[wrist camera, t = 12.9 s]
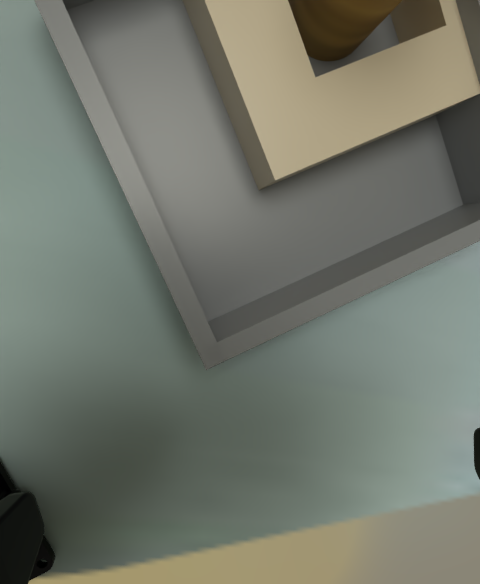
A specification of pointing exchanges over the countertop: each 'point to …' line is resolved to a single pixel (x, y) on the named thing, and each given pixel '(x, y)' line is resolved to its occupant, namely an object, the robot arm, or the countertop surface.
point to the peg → (337, 24)
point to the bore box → (280, 151)
